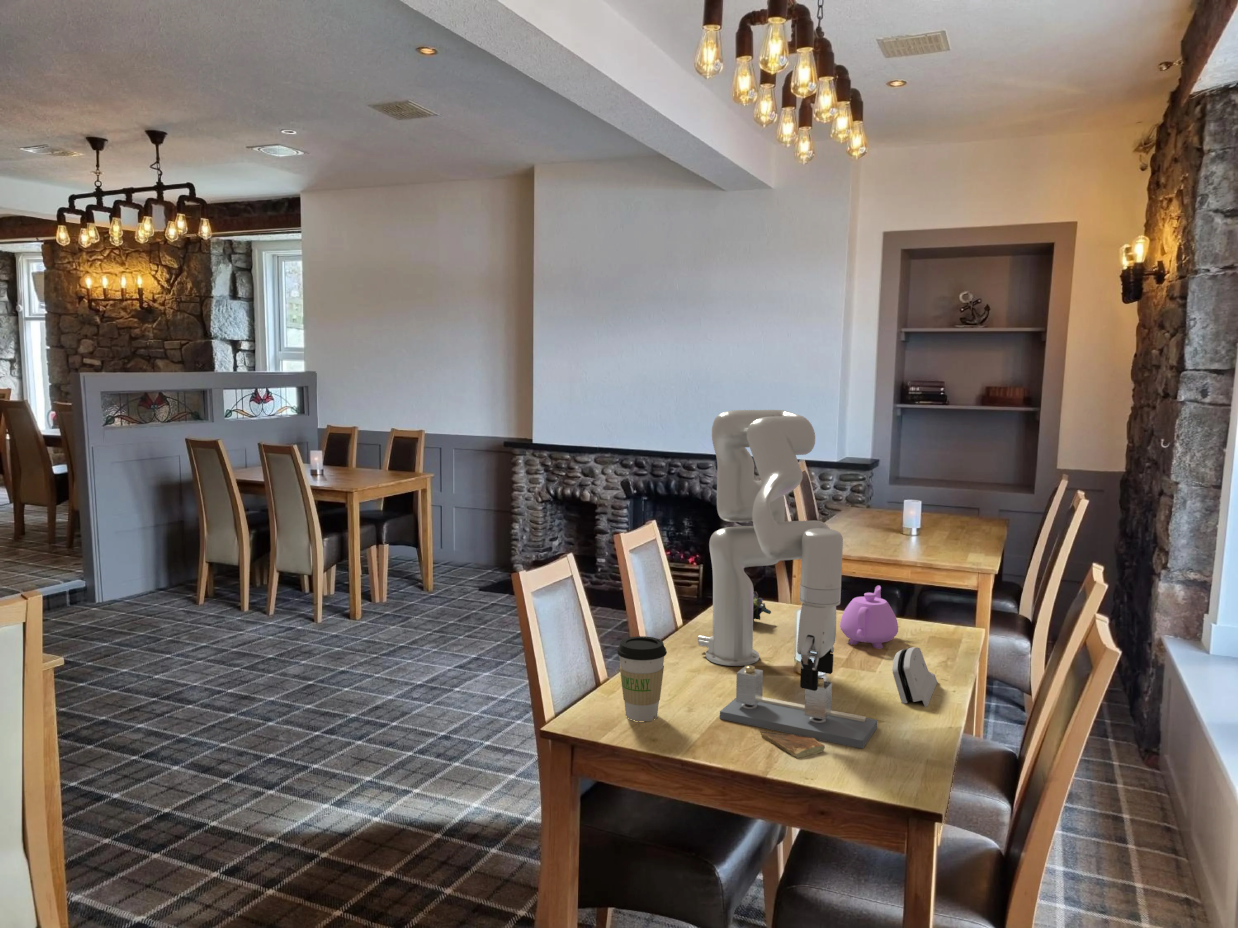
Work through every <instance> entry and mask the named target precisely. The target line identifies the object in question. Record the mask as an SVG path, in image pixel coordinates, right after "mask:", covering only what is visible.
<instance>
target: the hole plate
mask: <svg viewBox="0 0 1238 928" xmlns="http://www.w3.org/2000/svg"><path fill="white" fill-rule="evenodd" d="M804 715H805V704H802V703H795V702H791V701H784V700H781V699H775V698H771V697H770V698H769V697H764V696H762V700H761V701H760V702H759V703H758V704H757V705H756V706H754V705H748V704H743V703H738V702H736V697H735V698H734V699H732V700H731V701H730V702H729V703H728V704H727V705H726V706H725V707H723V708H722V709H721V710H720V711H719V719H720V720H723V721H730V722H733V723H740V724H743V725H748V726H753V727H758V728H762V729H766V730H767V729H768V730H772V731H776V732H781V733H784V734H792V735H799V736H807V737H812V738H815V740H818V741H819V740H820V741H823V742H829V743H834V744H838V745H843V746H848V747H853V748H857V749H862V750H863V749H864V748H865V746H866V745H867V743H868V742H869V740H870V739H871V737H872V736H873V735H874V733H875V731H876V730H877V729H878V719H875V718H870V717H867V716H864V715H863V716H862V715H860V714H854V713H847V712H843V711H838V710H837V711H836V710H832V709H831V713H830V715H829V716H828V717H827V718H826V719H825V720H824V719H819V718H814V717H809V716H804Z"/></svg>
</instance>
